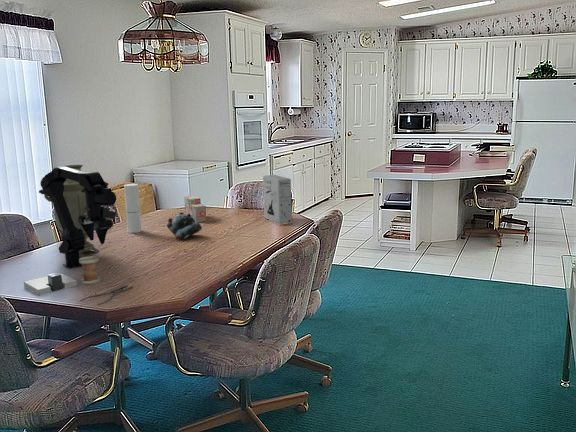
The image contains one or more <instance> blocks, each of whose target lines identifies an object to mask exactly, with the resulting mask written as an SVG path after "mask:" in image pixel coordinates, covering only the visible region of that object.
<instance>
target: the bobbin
mask: <svg viewBox="0 0 576 432" xmlns="http://www.w3.org/2000/svg"><path fill="white" fill-rule="evenodd" d="M99 261H100V260H99V257H98V256H96V255H95V256H93V255H91V256H83V257H80V259H79V263H81V264H83V265H82V273H83V278H81V279H80V284H82V285H95V284H99V283H100V282H101V277H100V276H98V272H97V271H98V270H97V263H98V262H99Z"/></svg>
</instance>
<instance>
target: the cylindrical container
mask: <svg viewBox="0 0 576 432" xmlns="http://www.w3.org/2000/svg"><path fill="white" fill-rule="evenodd" d="M123 190H124V191H123V192H124V200H125V201H124V202H125V214H126V226H127V229H126V230H127V233H129V234H135V233H137V234H138V233H140V232H142V222H141V221H142V220H141V219H142V218H141V207H140V194H139V184H138V183H127V184H124V185H123Z"/></svg>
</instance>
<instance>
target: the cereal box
mask: <svg viewBox="0 0 576 432" xmlns="http://www.w3.org/2000/svg"><path fill="white" fill-rule="evenodd" d="M262 185H263V186H262V187H263V189H262V190H263V210H264V211H263V215H264V217H265V218H267V219H269V220H271V221H274V222H276V223H278V224H283V223H292V224H293V218H292V217H293V216H292V179H291V178H290V177H289V178H288V177H285V176H281V175H277V174H268V175H262ZM265 218H264V219H265ZM267 219H266V220H267ZM269 220H268V221H269ZM271 221H270V222H271ZM276 223H275V224H276ZM278 224H277V225H278Z"/></svg>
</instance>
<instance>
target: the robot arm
mask: <svg viewBox="0 0 576 432" xmlns="http://www.w3.org/2000/svg"><path fill="white" fill-rule="evenodd" d="M65 166H66V165H61V166H55V167H54V168H53V169H52V170H51V171H50V172H48V173H47V174H45V175H44V176H43V177H42V178H41V180H40V182H39V183H40V187H41V190H43V191H44V193H45V194H46V195H48V197H50V198H51V200H52V202H51V203H52V205H54V207H53V209H54V208H55V210H56V213H57V216H58V218H59V221H60V224H61V226H62V229H63V231H62V232H61V243H60V245H59V247H58V251H59V254H63V255H64V257H65V259H64V260H65V263H63V264H62V267H65V268H67V269H72V268H77V267H81V266H82V267H83V264H81V263H79V259H80V258H81V254H79V251H80V250H84V245H85V238H84V237H85V236H84V235H83V232H82V229H81V228H80V229H78V228H76V227H75V225H74V222H73V220H72V217H71V214H70V212H69V209H68V206H67V204H66V201H65V198H64V196H63V192H64V182H65V181H66V179H70V180H73V181H77V182H79V185H81V186H83V187H84V189H83V190H82V191H81V192H83V193H85V198H86V207H84V208H85V210H87V215H82V216H80V217H79V218H78V222H79V223H82V224H80V225H81V226H82V227H83V229H84V230H85V232H86V234H87V235H88V238H89V240H90V242H92V241H94V240H95V239H94V238H95V234H96V235H97V236H96V237H97V238H98V240H99V241H98V242H99V243H100V244H101V245H104V244H105V240H106V238H107V232H108V231H109V230H110V229H112V227H114V222H113V220H116V215H117V211H112V210H110V208H109V207H111V206H113V205H115V204H116V202H117V195H116V193H115V192H114V191H112V188H111V187H108V186H107V184H106V183H107V182H106V181H105V180H104V178H103V177H102V175H101V173H100V172H99V171H82V170H80V171H79V169H78V170H75V169H71V168H68V167H65ZM105 182H106V183H105ZM107 206H108V207H107ZM94 226H95V228H94Z"/></svg>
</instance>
